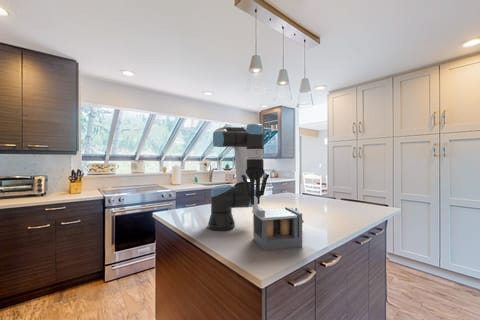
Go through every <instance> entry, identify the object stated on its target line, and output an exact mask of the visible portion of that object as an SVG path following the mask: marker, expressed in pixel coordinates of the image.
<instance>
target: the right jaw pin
mask: <svg viewBox="0 0 480 320" xmlns="http://www.w3.org/2000/svg"><path fill="white" fill-rule="evenodd" d="M280 235H281V236H285V235H290V218H287V219H280Z"/></svg>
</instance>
